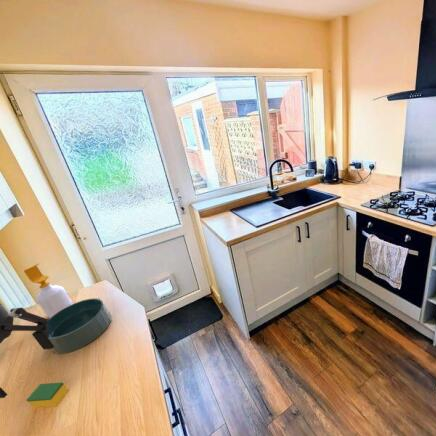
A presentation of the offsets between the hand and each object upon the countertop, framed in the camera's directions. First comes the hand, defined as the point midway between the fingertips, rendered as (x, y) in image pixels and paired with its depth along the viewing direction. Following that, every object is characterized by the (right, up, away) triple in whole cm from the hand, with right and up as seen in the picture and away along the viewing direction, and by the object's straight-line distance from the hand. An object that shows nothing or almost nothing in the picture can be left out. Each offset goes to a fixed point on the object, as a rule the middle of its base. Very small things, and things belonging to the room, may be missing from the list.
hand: (27, 370), depth 68 cm
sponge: (+1, -12, +6) cm, 14 cm away
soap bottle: (-29, +1, +41) cm, 50 cm away
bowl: (-9, -3, +29) cm, 30 cm away
